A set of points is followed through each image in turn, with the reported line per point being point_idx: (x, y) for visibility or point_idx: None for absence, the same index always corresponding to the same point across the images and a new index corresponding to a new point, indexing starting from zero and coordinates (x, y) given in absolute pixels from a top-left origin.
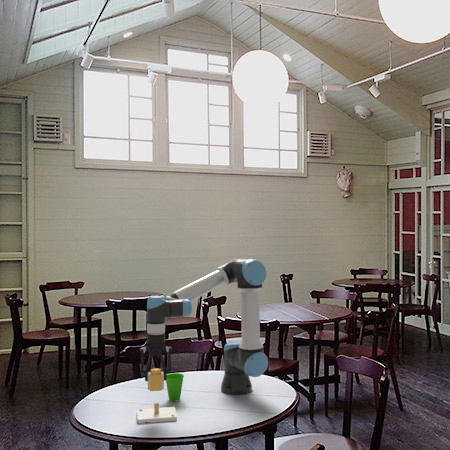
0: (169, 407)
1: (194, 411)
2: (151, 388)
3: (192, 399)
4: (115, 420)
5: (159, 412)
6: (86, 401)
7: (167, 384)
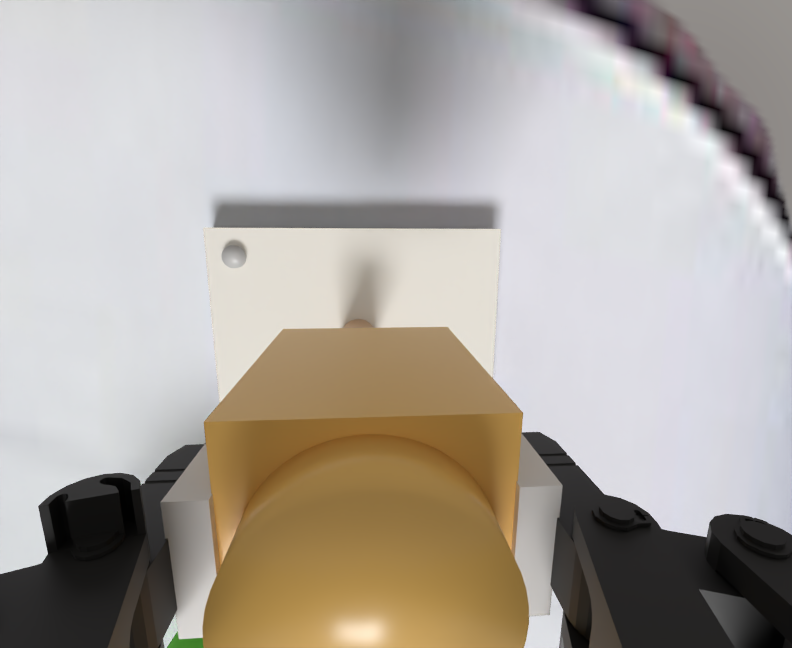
0: None
1: (80, 382)
2: (429, 335)
3: None
4: (624, 314)
5: None
6: None
7: None
